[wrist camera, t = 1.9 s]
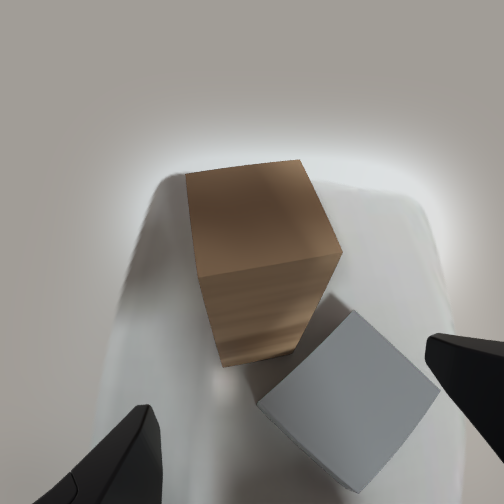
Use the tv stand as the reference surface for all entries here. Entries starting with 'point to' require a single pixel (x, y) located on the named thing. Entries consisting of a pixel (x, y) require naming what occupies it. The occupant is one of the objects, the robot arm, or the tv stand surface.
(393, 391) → the grey block
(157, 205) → the tv stand surface
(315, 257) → the walnut block
